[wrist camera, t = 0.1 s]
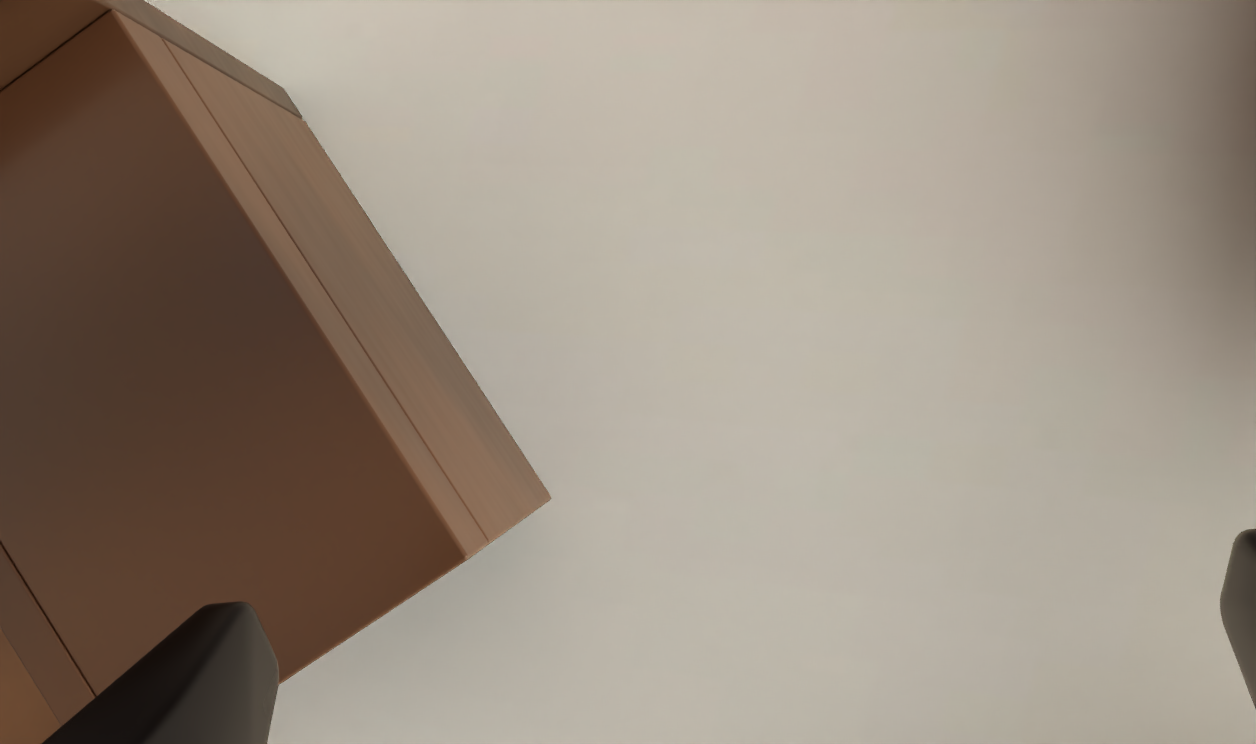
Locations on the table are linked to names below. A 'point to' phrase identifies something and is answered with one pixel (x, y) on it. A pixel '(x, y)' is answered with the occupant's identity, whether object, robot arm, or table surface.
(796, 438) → the table surface
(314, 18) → the table surface
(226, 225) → the step shelf
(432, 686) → the table surface
